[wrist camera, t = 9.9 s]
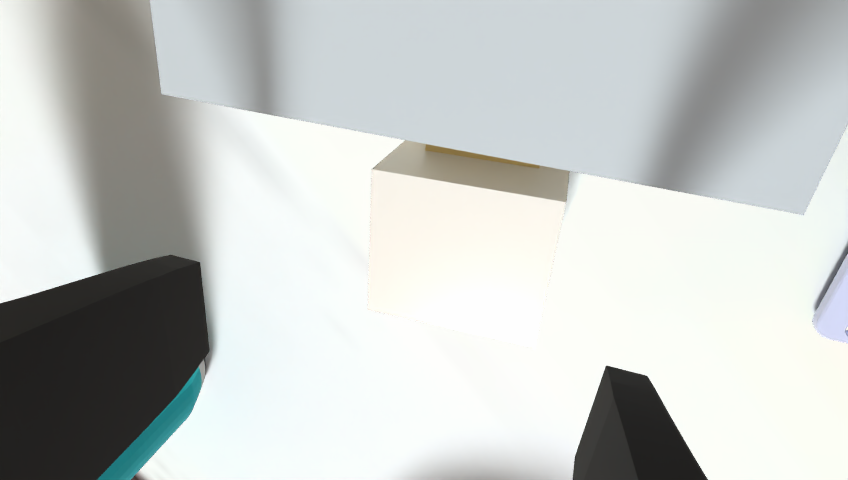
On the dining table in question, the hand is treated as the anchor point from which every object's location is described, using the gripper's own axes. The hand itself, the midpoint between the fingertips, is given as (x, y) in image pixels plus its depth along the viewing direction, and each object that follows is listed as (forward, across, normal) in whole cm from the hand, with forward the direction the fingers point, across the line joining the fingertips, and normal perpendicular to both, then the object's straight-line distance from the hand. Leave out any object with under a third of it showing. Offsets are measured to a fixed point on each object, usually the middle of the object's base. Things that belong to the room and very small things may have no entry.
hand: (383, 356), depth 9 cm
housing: (+9, 0, -6) cm, 11 cm away
